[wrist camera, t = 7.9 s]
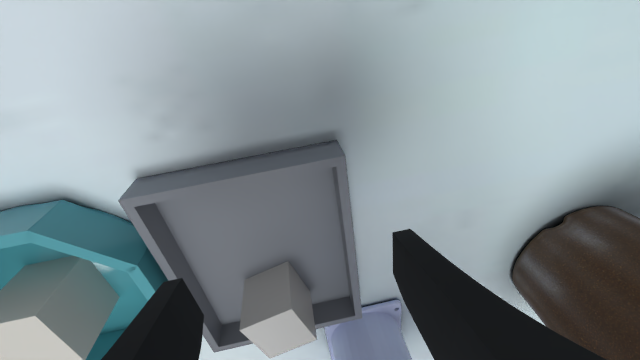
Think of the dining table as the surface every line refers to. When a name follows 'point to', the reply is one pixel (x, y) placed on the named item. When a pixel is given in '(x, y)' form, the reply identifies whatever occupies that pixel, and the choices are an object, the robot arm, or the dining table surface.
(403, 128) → the dining table surface
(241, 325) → the light gray cube block
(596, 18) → the dining table surface
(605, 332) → the plant pot
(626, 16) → the dining table surface
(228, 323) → the parts tray
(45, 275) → the white rectangular block
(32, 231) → the bowl
